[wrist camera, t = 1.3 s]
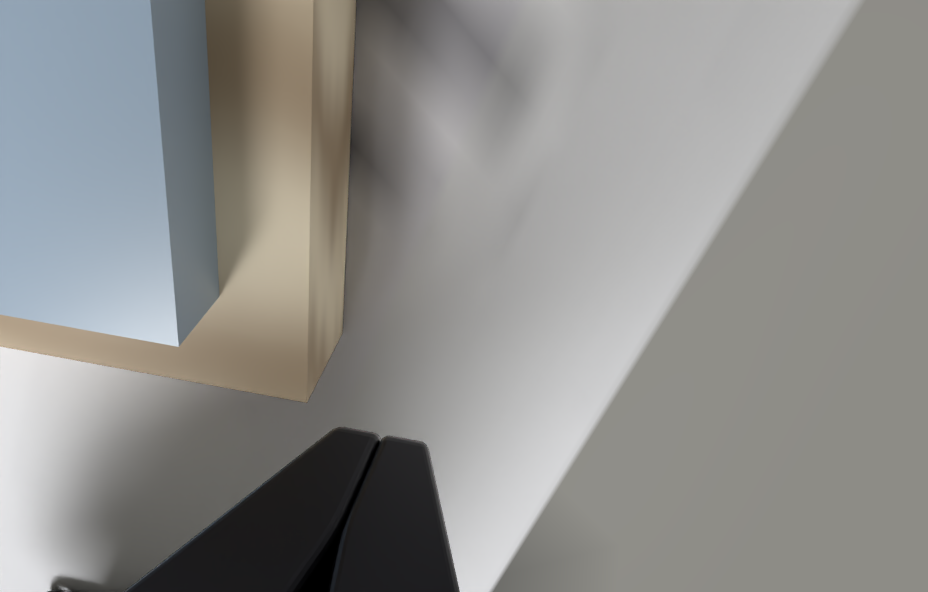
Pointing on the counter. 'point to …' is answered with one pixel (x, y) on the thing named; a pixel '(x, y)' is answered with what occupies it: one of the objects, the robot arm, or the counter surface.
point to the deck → (258, 208)
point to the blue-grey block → (107, 166)
